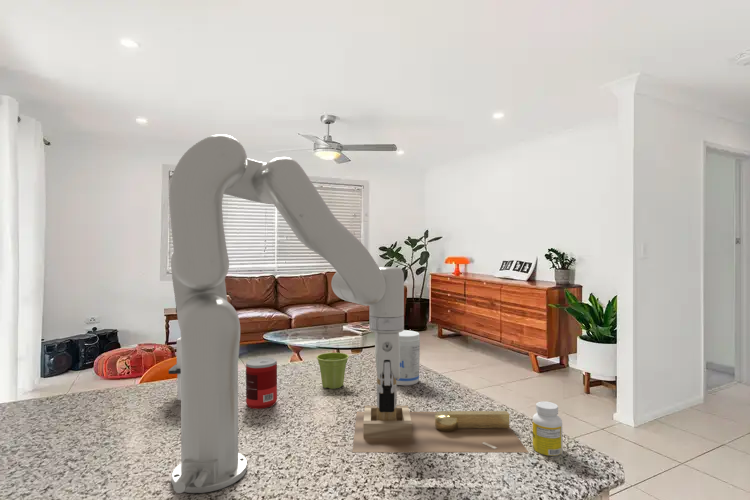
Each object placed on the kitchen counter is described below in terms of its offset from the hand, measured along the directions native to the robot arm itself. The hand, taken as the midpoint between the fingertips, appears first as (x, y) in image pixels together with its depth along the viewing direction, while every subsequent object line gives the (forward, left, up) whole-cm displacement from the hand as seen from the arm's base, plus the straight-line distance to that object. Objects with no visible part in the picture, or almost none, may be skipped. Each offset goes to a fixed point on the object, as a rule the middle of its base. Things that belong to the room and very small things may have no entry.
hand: (386, 406), depth 92 cm
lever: (0, -19, -4) cm, 19 cm away
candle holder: (+24, +52, -6) cm, 57 cm away
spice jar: (0, 0, -4) cm, 4 cm away
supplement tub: (+35, -6, -6) cm, 36 cm away
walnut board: (-1, -10, -6) cm, 12 cm away
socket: (0, 0, -5) cm, 5 cm away
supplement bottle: (-10, -31, -6) cm, 33 cm away
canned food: (+17, +32, -6) cm, 37 cm away
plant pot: (+31, +15, -6) cm, 35 cm away
